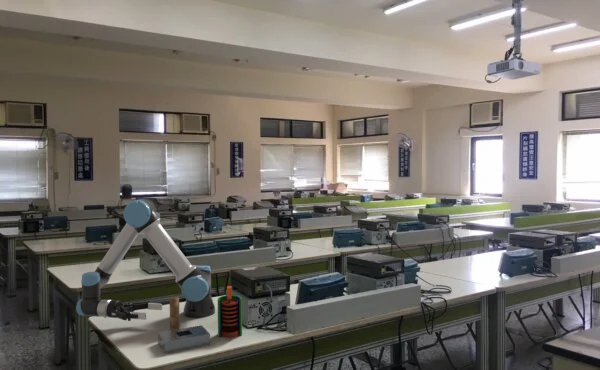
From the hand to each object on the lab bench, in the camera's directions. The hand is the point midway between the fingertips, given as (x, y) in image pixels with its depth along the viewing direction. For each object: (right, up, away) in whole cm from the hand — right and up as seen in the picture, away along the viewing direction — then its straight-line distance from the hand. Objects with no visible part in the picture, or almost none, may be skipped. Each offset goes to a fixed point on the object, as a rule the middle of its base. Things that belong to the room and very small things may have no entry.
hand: (154, 311), depth 211 cm
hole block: (+17, -9, -16) cm, 25 cm away
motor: (+34, -9, -5) cm, 35 cm away
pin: (+10, -8, -2) cm, 13 cm away
